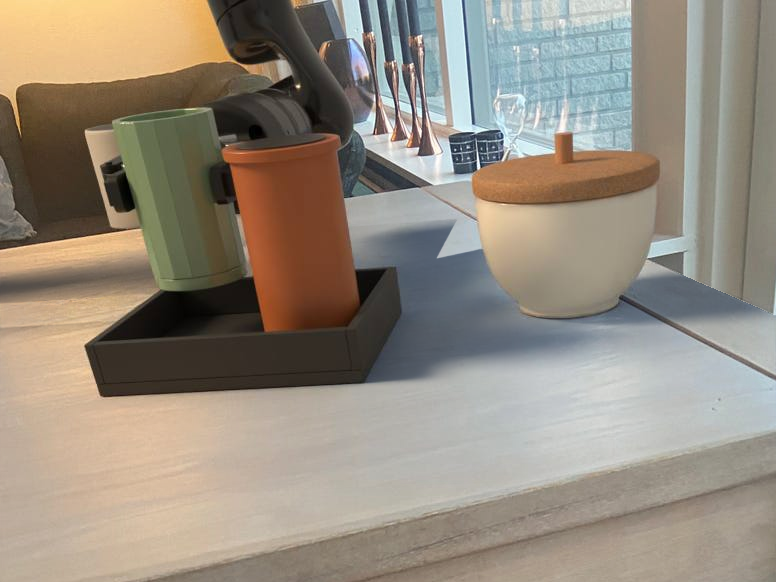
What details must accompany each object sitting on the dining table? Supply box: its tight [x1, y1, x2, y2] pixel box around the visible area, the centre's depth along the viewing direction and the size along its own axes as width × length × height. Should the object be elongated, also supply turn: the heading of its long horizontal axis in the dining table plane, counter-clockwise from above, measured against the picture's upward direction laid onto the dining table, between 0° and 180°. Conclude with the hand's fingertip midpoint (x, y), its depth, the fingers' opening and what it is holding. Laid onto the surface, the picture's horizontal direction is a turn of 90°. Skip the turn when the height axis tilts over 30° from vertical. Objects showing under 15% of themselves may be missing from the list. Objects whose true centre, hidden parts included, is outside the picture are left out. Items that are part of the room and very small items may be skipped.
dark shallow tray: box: [83, 266, 403, 397], centre depth 65 cm, size 17×15×3 cm
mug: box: [84, 123, 141, 229], centre depth 103 cm, size 12×8×11 cm
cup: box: [111, 107, 249, 292], centre depth 63 cm, size 6×6×10 cm
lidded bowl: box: [471, 131, 661, 319], centre depth 66 cm, size 13×13×11 cm
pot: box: [222, 134, 361, 332], centre depth 60 cm, size 7×7×12 cm
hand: (167, 191), depth 60 cm, fingers closed on cup, 6 cm apart
